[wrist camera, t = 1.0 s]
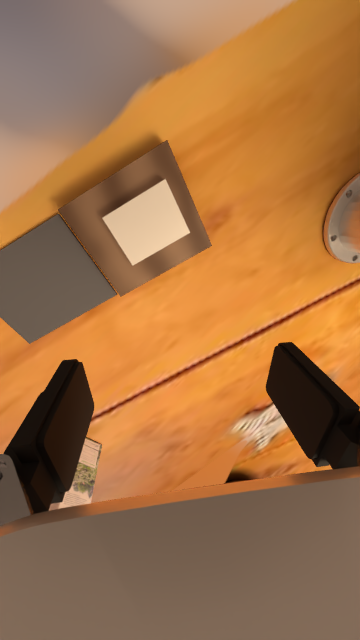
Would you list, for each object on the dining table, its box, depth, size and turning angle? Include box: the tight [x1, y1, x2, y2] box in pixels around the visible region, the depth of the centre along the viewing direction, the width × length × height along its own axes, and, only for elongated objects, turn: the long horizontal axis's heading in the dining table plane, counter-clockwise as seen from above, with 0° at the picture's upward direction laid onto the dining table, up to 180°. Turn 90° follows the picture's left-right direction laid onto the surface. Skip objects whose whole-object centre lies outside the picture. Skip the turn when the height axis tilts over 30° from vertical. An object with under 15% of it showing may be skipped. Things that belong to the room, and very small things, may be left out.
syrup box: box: [49, 438, 102, 511], centre depth 40 cm, size 6×6×14 cm
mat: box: [0, 214, 117, 344], centre depth 30 cm, size 16×12×1 cm
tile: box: [102, 179, 190, 266], centre depth 25 cm, size 8×6×2 cm
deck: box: [58, 140, 212, 296], centre depth 27 cm, size 14×12×2 cm
